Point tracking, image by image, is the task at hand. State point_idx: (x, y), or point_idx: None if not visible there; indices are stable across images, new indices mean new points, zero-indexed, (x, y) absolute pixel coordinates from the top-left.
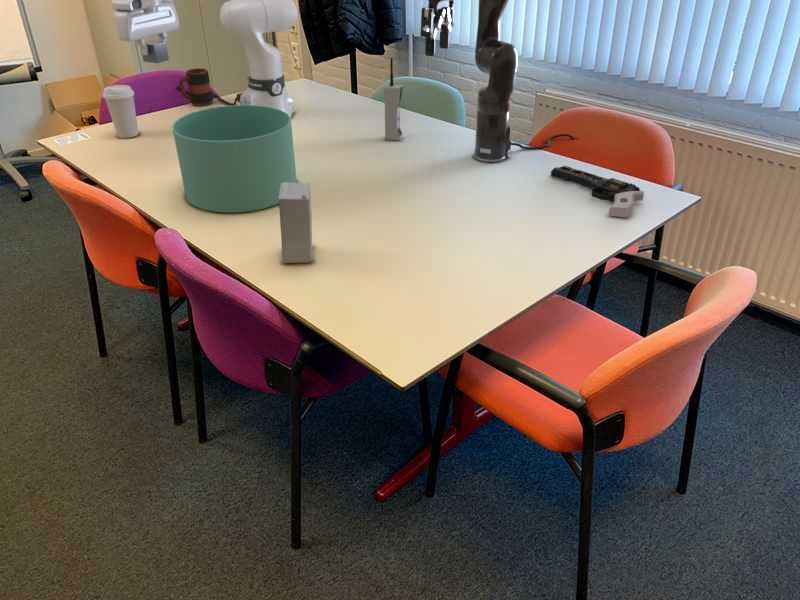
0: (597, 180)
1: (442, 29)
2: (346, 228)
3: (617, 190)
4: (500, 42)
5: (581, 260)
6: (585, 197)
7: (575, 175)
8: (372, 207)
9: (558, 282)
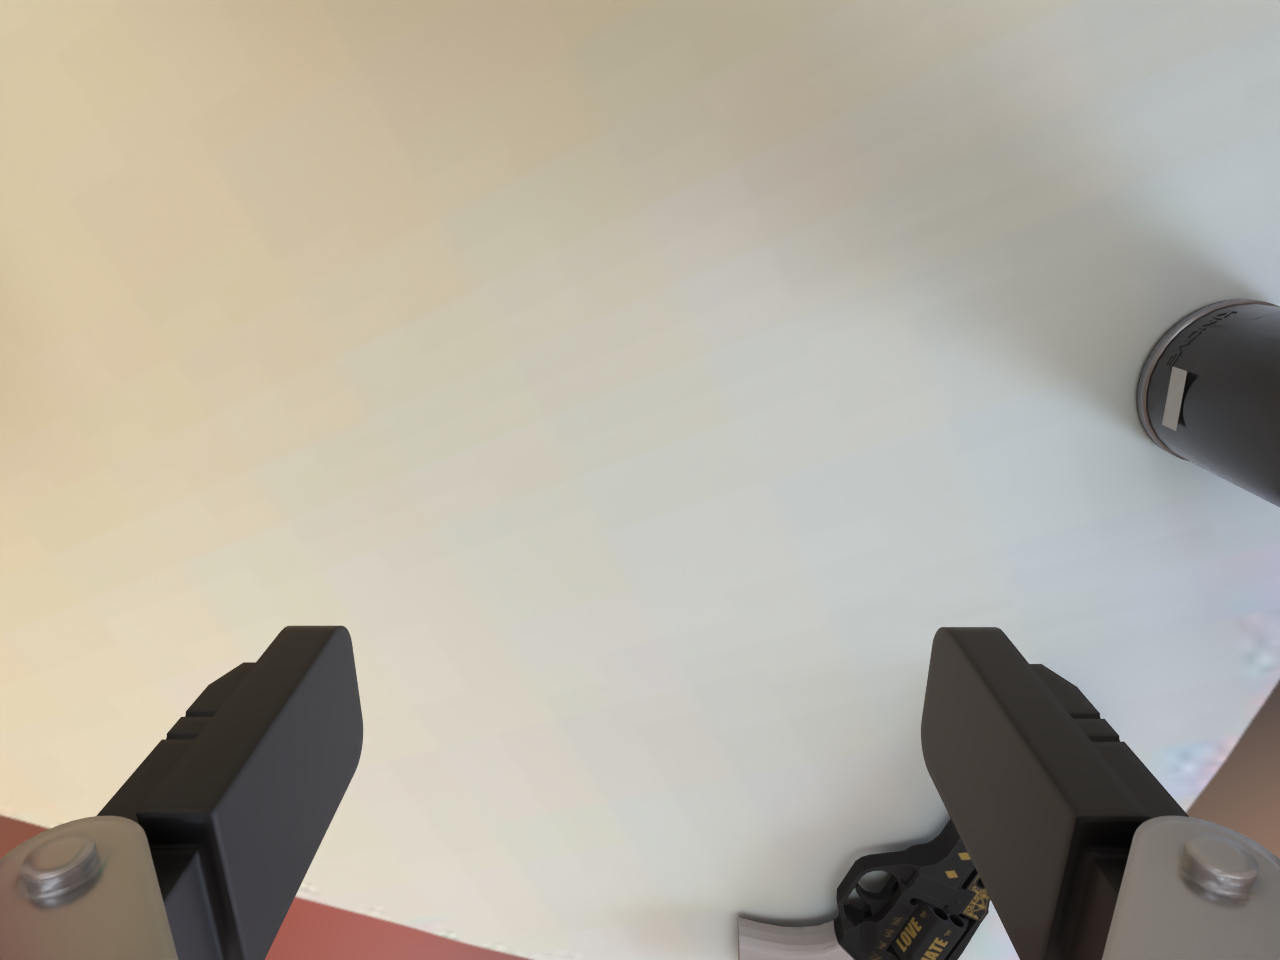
0: (956, 880)
1: (1114, 907)
2: (115, 82)
3: (878, 947)
4: None
5: (397, 898)
6: (868, 829)
7: None
8: (375, 85)
9: None
